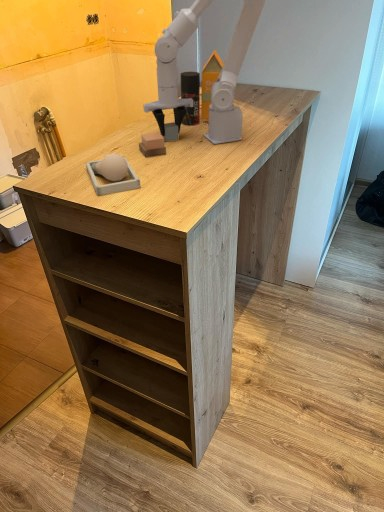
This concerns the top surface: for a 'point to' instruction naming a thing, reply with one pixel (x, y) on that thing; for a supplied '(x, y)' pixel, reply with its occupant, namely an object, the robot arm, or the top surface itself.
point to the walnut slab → (151, 151)
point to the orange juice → (209, 81)
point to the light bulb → (111, 167)
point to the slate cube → (171, 132)
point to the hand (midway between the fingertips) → (169, 133)
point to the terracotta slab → (153, 141)
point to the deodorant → (191, 90)
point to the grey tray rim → (114, 186)
